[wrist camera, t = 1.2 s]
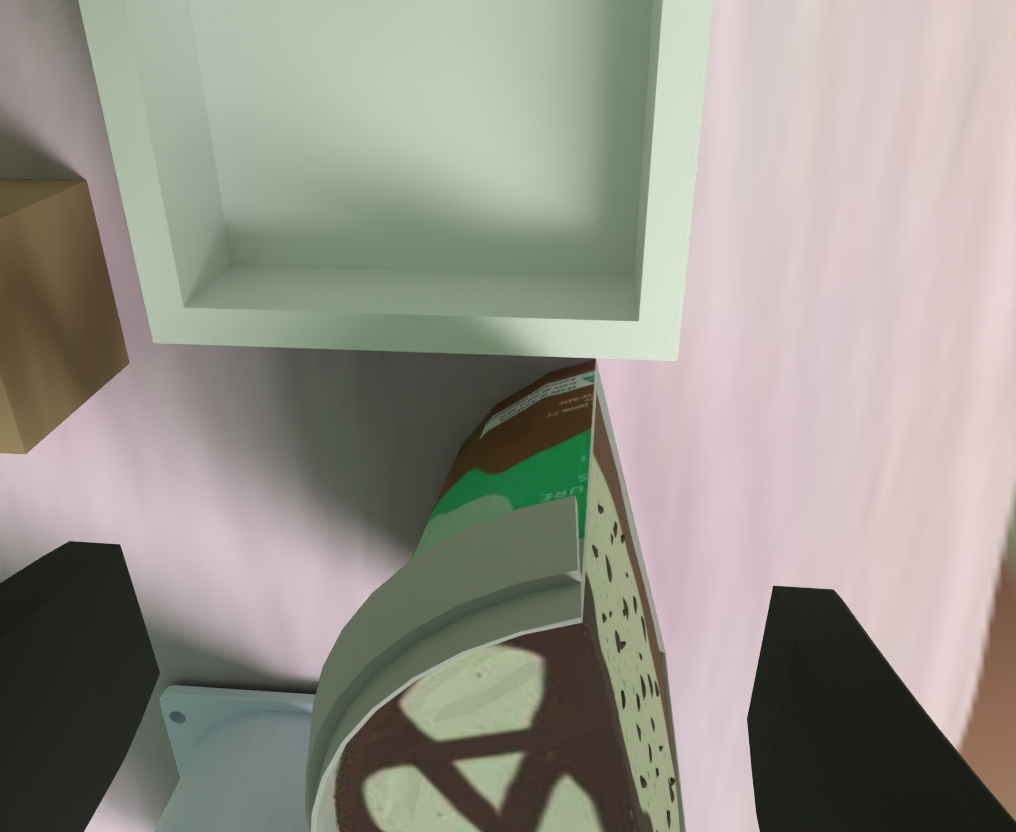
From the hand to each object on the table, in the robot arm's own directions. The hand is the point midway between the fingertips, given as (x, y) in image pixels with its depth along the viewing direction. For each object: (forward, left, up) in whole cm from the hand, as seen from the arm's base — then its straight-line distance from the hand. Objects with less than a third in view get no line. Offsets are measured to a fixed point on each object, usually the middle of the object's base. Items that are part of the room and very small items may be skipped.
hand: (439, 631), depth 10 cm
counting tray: (+5, +2, -11) cm, 12 cm away
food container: (-7, 0, -11) cm, 13 cm away
